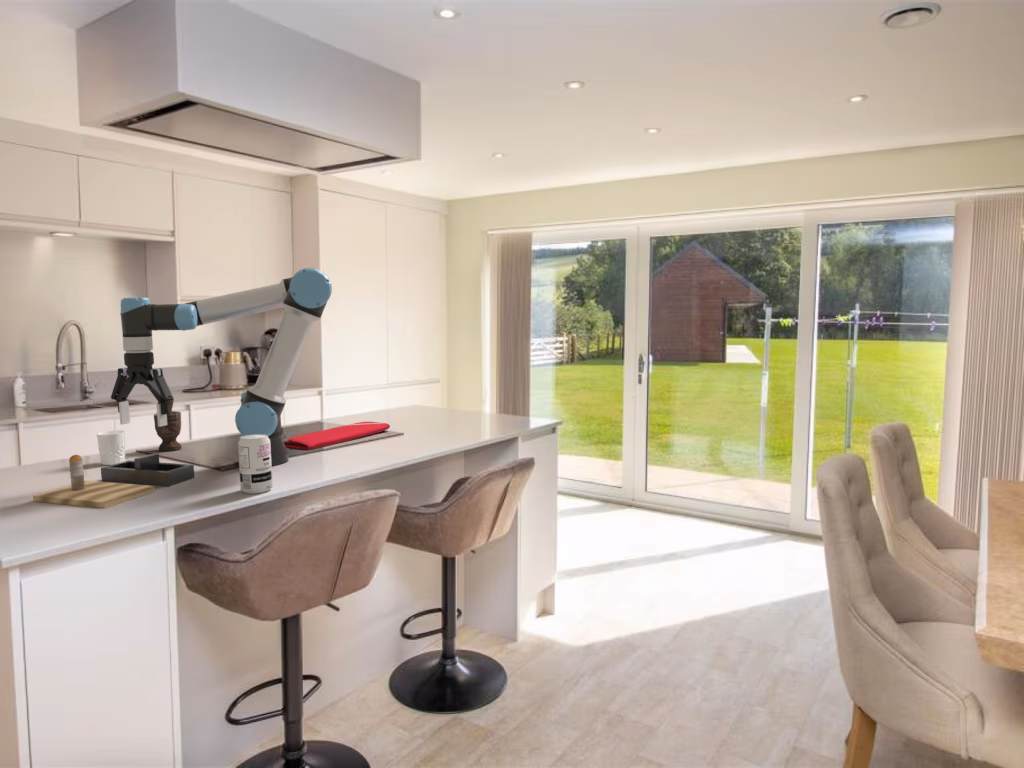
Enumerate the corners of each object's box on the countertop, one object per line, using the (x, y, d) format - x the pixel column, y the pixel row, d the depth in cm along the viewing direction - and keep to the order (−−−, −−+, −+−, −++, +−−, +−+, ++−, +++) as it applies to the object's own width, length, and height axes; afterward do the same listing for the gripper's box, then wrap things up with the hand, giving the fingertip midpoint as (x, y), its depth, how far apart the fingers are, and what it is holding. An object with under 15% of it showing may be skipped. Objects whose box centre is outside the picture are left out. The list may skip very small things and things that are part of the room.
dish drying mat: (279, 446, 250) (279, 436, 250) (363, 428, 284) (362, 419, 284) (309, 451, 242) (308, 441, 241) (391, 432, 275) (391, 423, 275)
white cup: (114, 466, 221) (112, 435, 220) (93, 465, 223) (90, 434, 222) (132, 460, 229) (130, 430, 228) (112, 459, 231) (109, 430, 229)
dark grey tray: (129, 473, 211) (128, 450, 211) (194, 478, 204) (192, 454, 204) (101, 481, 202) (99, 457, 201) (168, 486, 195) (166, 462, 194)
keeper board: (154, 491, 190) (151, 452, 189) (105, 508, 175) (101, 465, 174) (86, 485, 197) (83, 447, 196) (33, 501, 182) (29, 460, 181)
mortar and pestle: (193, 449, 245) (189, 393, 243) (169, 454, 238) (165, 396, 236) (175, 446, 252) (171, 391, 249) (151, 450, 245) (147, 394, 242)
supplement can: (245, 487, 194) (242, 434, 192) (276, 486, 194) (273, 433, 193) (236, 495, 186) (233, 439, 184) (268, 493, 186) (265, 439, 184)
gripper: (183, 351, 199) (188, 424, 201) (115, 350, 206) (120, 420, 209) (163, 353, 192) (168, 428, 194) (93, 352, 199) (99, 425, 201)
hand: (143, 424), depth 201 cm, fingers open, 13 cm apart
